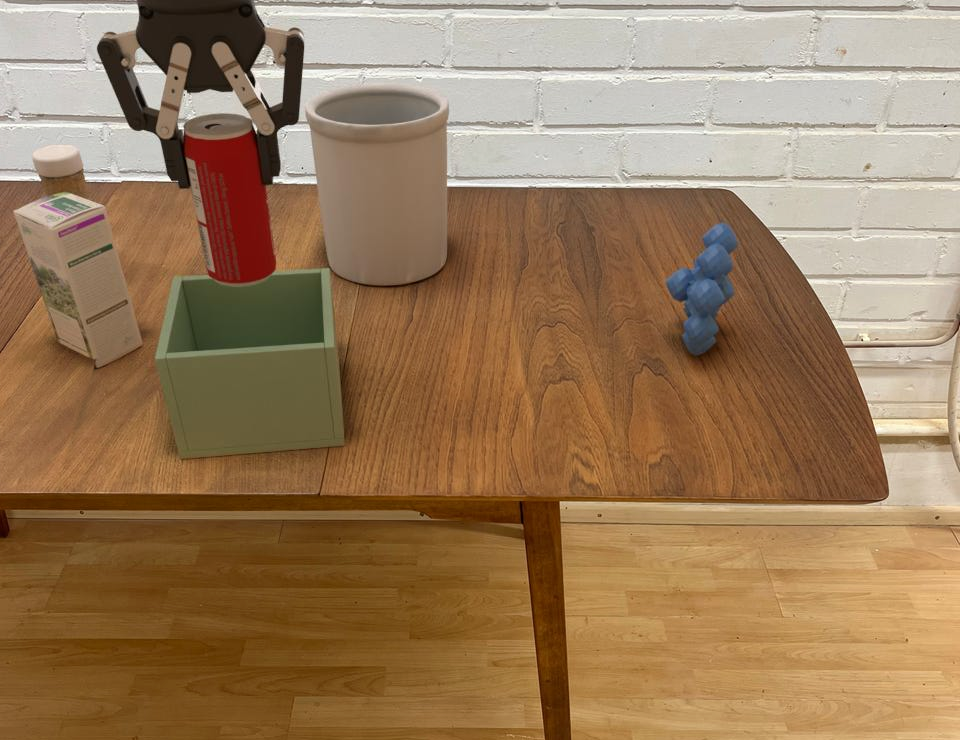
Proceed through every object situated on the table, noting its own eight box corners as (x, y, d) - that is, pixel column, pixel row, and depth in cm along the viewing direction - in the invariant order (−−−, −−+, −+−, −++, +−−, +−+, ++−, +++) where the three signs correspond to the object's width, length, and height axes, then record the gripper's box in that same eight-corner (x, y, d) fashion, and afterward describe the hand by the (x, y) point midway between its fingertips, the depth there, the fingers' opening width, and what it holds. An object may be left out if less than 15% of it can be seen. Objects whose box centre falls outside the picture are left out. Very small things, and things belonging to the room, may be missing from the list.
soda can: (291, 273, 72) (271, 121, 64) (234, 296, 69) (206, 139, 61) (250, 251, 75) (227, 103, 67) (194, 272, 72) (162, 119, 64)
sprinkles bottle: (110, 260, 101) (78, 140, 93) (112, 277, 98) (79, 155, 90) (67, 265, 100) (31, 145, 92) (68, 284, 97) (30, 161, 88)
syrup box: (145, 345, 88) (109, 202, 78) (95, 371, 84) (50, 225, 74) (108, 327, 90) (68, 187, 81) (57, 352, 86) (9, 208, 77)
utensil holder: (296, 255, 103) (276, 98, 92) (398, 221, 111) (391, 72, 100) (372, 303, 95) (360, 136, 84) (476, 262, 102) (479, 105, 91)
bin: (180, 459, 74) (154, 358, 68) (194, 370, 84) (173, 276, 78) (344, 446, 76) (334, 346, 69) (339, 360, 86) (329, 267, 80)
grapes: (666, 308, 95) (684, 199, 87) (730, 319, 93) (754, 209, 86) (646, 363, 86) (664, 248, 79) (716, 376, 85) (742, 260, 77)
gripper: (298, -90, 60) (322, 161, 71) (74, -89, 58) (134, 168, 69) (298, -71, 54) (324, 198, 65) (50, -70, 52) (120, 208, 63)
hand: (226, 182), depth 67 cm, fingers closed on soda can, 5 cm apart
